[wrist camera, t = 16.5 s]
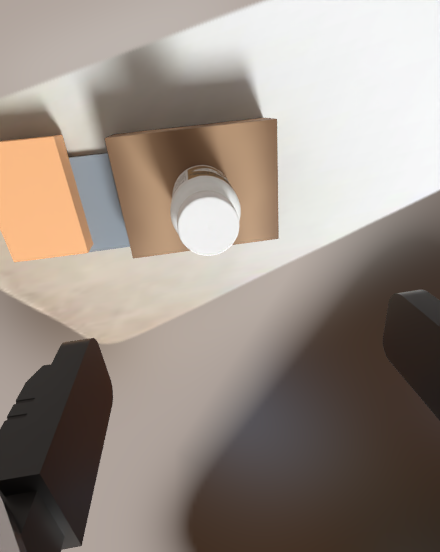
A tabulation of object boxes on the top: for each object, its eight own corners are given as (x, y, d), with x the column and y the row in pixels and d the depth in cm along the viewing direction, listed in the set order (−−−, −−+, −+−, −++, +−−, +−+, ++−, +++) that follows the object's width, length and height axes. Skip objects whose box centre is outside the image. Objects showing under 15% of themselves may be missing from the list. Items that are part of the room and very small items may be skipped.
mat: (108, 152, 26) (107, 153, 26) (130, 244, 30) (130, 246, 30) (12, 163, 26) (10, 164, 26) (46, 256, 30) (45, 258, 29)
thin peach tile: (-35, 145, 23) (-20, 143, 25) (14, 262, 27) (24, 252, 29) (53, 136, 23) (62, 134, 25) (88, 252, 27) (93, 244, 29)
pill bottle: (241, 182, 25) (263, 210, 18) (213, 231, 26) (223, 275, 19) (189, 152, 23) (190, 171, 17) (162, 206, 25) (154, 243, 18)
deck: (263, 117, 27) (276, 119, 23) (266, 223, 31) (278, 238, 27) (114, 134, 26) (104, 138, 22) (138, 240, 30) (133, 258, 26)
